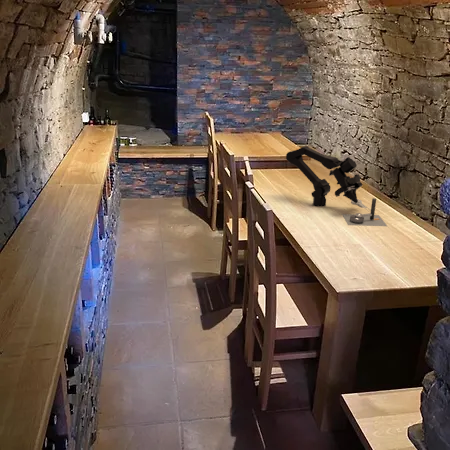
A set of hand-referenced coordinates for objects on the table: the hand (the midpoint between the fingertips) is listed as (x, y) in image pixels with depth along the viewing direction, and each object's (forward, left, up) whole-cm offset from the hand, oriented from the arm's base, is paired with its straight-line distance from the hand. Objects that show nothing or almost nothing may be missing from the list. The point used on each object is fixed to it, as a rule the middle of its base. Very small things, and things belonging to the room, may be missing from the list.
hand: (356, 202), depth 262 cm
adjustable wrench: (+7, +16, -9) cm, 19 cm away
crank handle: (+1, -9, -7) cm, 11 cm away
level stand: (+3, -8, -8) cm, 11 cm away
